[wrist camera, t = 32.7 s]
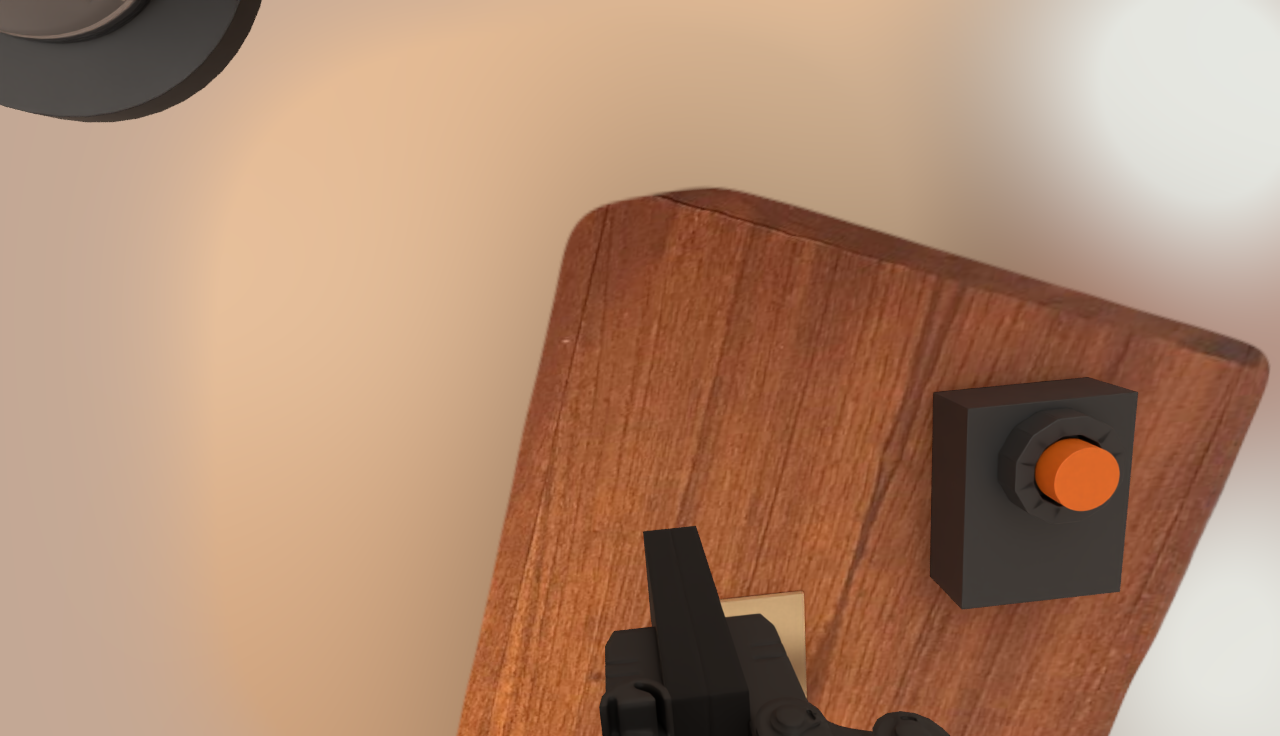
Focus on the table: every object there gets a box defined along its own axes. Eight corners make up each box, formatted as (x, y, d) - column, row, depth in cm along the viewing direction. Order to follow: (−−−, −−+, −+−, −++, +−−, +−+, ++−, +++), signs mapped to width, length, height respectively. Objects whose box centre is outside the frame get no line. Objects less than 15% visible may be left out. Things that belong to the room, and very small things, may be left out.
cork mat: (665, 605, 45) (666, 608, 45) (802, 590, 46) (804, 593, 45) (675, 723, 48) (675, 727, 47) (805, 708, 48) (807, 712, 48)
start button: (1036, 441, 38) (1056, 451, 37) (1099, 434, 39) (1122, 444, 37) (1032, 502, 39) (1052, 514, 38) (1094, 495, 39) (1117, 507, 38)
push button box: (933, 392, 43) (985, 417, 37) (1088, 377, 44) (1163, 399, 38) (929, 576, 46) (977, 626, 40) (1074, 560, 47) (1142, 607, 41)
